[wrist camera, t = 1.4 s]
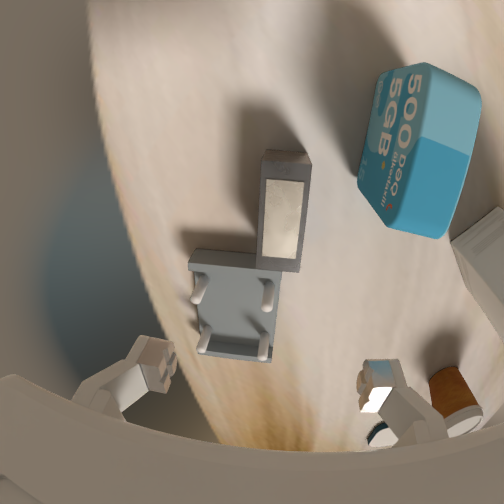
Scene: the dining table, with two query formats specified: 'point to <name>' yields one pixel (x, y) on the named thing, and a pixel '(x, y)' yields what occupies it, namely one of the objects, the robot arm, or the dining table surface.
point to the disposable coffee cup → (455, 402)
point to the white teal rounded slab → (382, 436)
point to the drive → (282, 209)
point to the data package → (419, 147)
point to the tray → (234, 305)
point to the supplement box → (484, 265)
